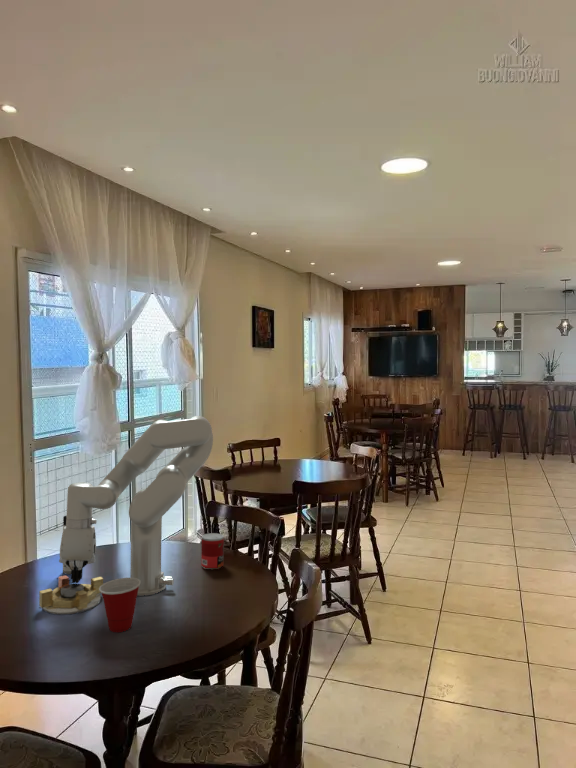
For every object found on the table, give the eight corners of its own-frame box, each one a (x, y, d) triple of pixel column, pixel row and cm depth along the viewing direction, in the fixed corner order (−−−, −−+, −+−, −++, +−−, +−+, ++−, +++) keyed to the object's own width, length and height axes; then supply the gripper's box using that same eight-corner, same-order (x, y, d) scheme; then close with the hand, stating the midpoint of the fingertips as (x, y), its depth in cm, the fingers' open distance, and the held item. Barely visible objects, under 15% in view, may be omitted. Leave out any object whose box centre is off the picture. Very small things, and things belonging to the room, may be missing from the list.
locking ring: (105, 590, 168) (105, 576, 168) (84, 609, 154) (84, 595, 154) (60, 588, 169) (60, 575, 169) (36, 607, 155) (36, 593, 155)
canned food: (222, 570, 190) (222, 539, 190) (199, 570, 190) (199, 539, 190) (224, 563, 197) (225, 533, 197) (203, 562, 198) (203, 532, 197)
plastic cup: (107, 618, 151) (107, 575, 151) (145, 619, 151) (145, 576, 151) (91, 636, 141) (92, 590, 140) (133, 637, 140) (133, 591, 140)
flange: (109, 593, 169) (109, 579, 169) (86, 615, 153) (86, 600, 153) (57, 591, 170) (57, 577, 170) (30, 613, 154) (30, 597, 154)
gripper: (106, 520, 173) (103, 577, 173) (58, 519, 172) (55, 576, 172) (100, 526, 166) (98, 586, 166) (50, 525, 164) (47, 585, 164)
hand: (76, 581), depth 169 cm, fingers closed
